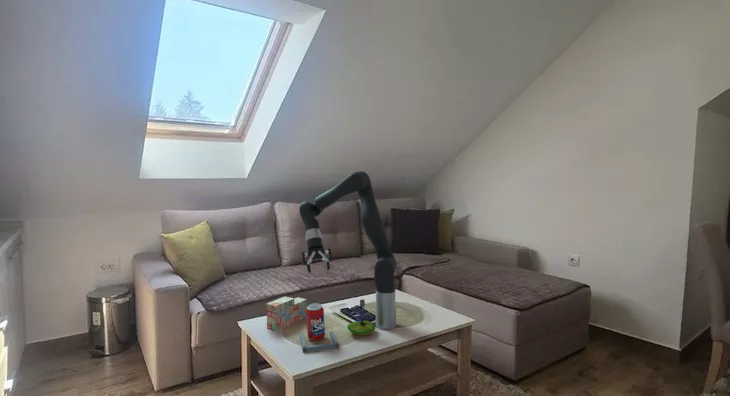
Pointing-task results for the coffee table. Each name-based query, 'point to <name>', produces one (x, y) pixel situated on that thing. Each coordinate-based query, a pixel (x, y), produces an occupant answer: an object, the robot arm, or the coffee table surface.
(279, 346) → the coffee table surface
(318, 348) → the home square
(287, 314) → the stack of blocks
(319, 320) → the soda can
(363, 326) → the pirate figurine
